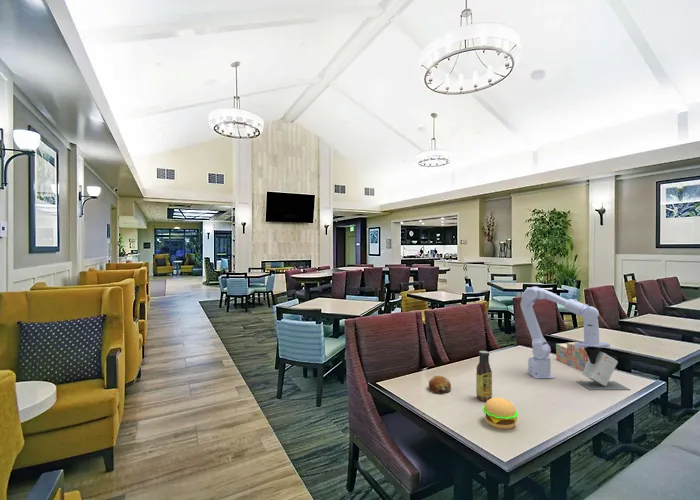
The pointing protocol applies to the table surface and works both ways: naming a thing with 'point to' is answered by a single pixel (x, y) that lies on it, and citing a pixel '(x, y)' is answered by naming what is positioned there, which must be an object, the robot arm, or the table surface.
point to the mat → (596, 386)
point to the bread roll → (439, 385)
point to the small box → (600, 369)
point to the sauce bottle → (484, 377)
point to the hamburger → (500, 413)
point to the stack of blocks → (572, 355)
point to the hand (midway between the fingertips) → (592, 363)
